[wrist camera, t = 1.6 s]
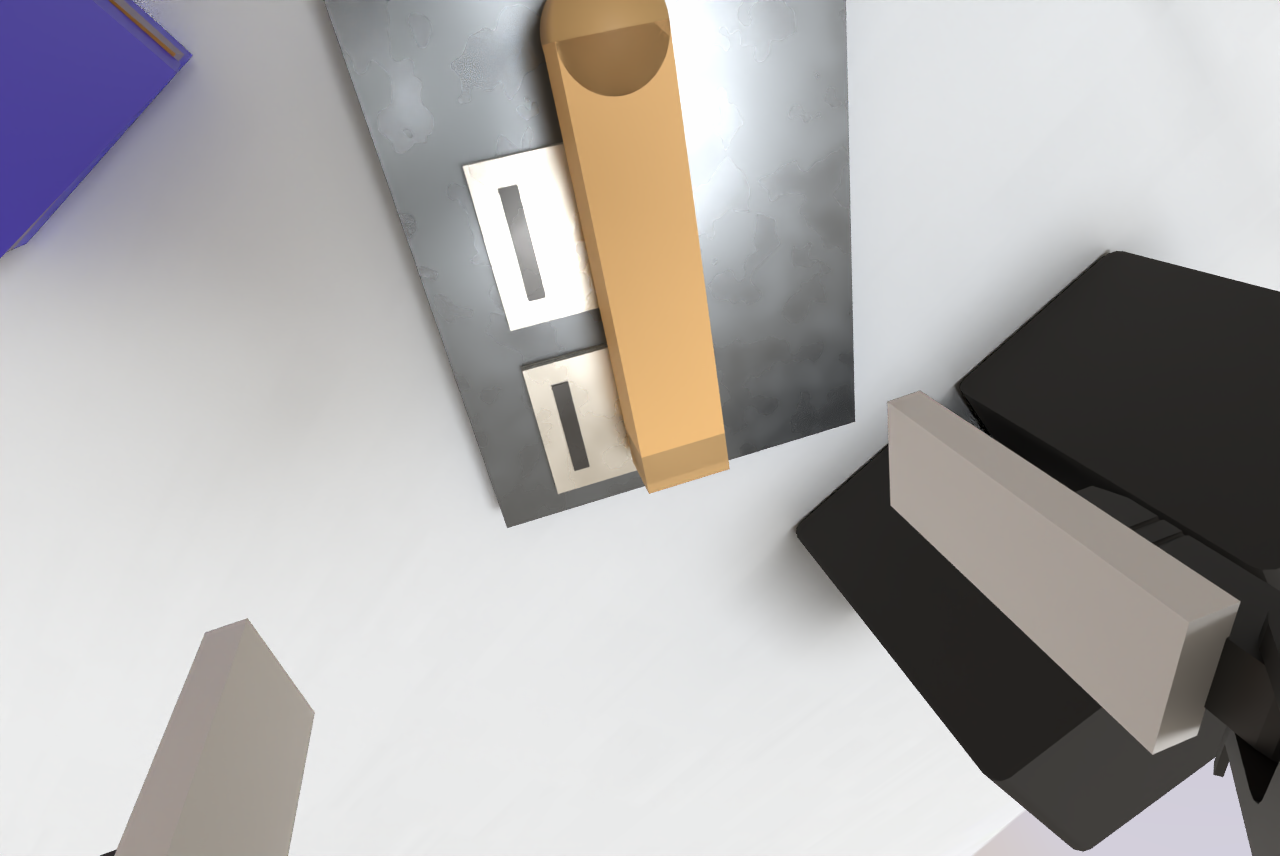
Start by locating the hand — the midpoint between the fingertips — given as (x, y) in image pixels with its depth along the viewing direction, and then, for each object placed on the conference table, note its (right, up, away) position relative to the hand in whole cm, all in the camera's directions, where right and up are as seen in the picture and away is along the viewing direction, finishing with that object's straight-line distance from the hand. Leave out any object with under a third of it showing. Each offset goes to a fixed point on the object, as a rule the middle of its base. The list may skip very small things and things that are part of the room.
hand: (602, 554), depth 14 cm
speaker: (+23, +2, +31) cm, 38 cm away
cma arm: (0, +10, +16) cm, 19 cm away
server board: (+1, +11, +19) cm, 22 cm away
